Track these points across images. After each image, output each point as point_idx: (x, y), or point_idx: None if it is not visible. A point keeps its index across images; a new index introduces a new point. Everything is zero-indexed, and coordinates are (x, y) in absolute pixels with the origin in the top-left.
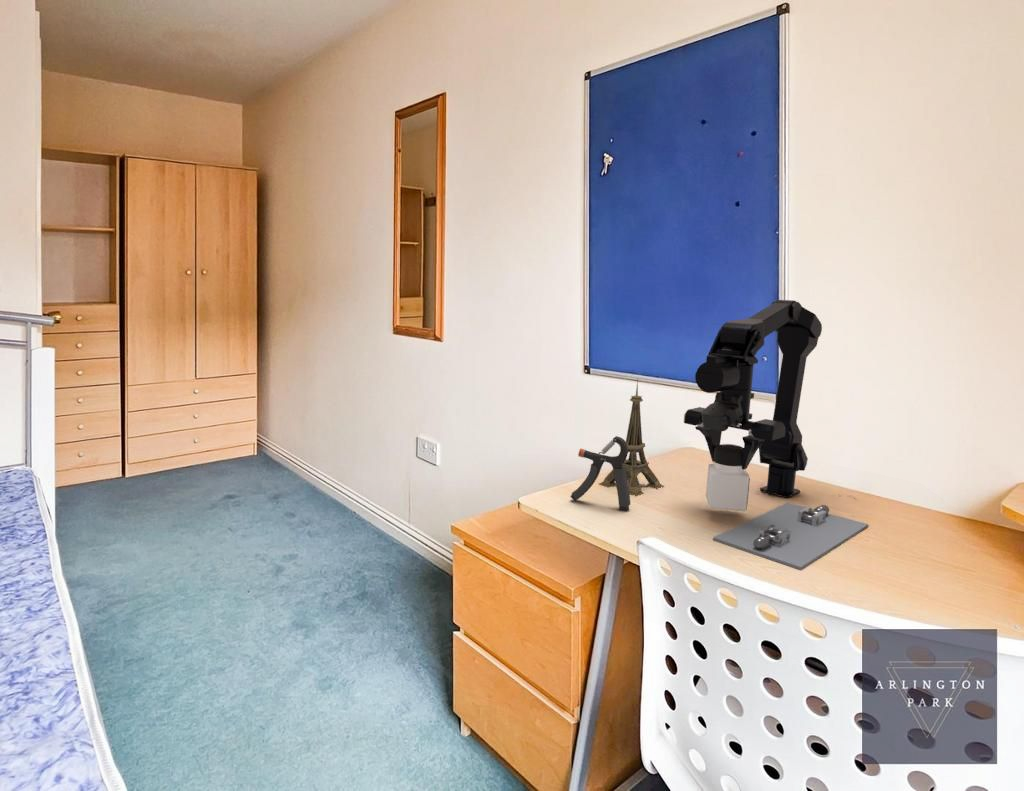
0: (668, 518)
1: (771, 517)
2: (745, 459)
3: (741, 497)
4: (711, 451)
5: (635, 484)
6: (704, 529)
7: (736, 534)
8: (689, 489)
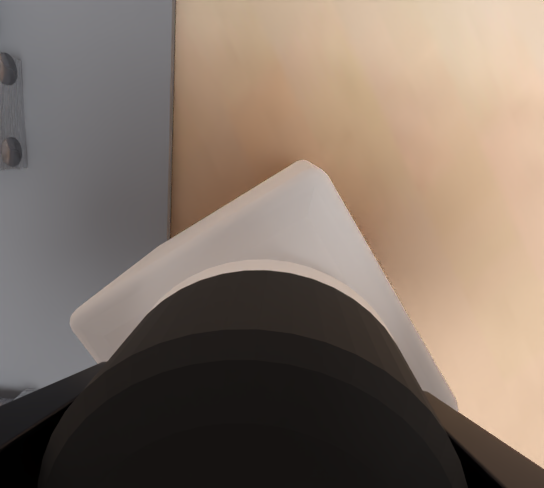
0: (453, 42)
1: None
2: (23, 402)
3: (157, 250)
4: (484, 448)
5: None
6: (265, 39)
7: (121, 56)
8: (530, 458)
